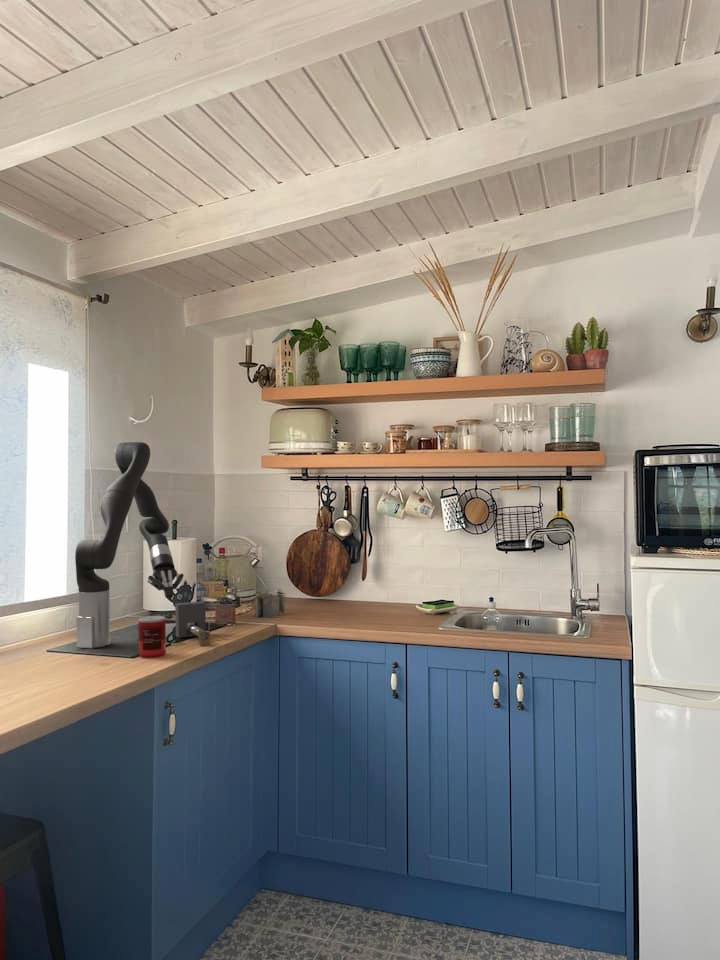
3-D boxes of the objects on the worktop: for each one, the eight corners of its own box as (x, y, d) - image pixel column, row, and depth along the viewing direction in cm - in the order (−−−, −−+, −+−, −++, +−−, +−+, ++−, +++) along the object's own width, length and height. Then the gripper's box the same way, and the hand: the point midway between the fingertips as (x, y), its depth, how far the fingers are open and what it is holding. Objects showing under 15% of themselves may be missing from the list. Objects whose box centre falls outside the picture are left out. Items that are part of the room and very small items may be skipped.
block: (175, 635, 245) (175, 603, 245) (202, 632, 249) (202, 601, 249) (178, 637, 241) (178, 605, 242) (205, 634, 246) (205, 602, 246)
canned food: (155, 651, 223) (154, 614, 223) (171, 654, 218) (170, 617, 218) (133, 656, 217) (132, 618, 217) (149, 659, 212) (148, 621, 212)
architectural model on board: (258, 618, 280) (257, 593, 280) (255, 617, 283) (254, 592, 283) (285, 615, 286) (285, 590, 286) (282, 614, 288) (281, 589, 289)
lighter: (237, 624, 267) (237, 596, 267) (233, 625, 264) (233, 597, 264) (217, 623, 269) (217, 595, 269) (213, 625, 266) (212, 597, 266)
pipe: (159, 636, 246) (159, 623, 246) (212, 630, 254) (212, 618, 254) (176, 649, 226) (176, 635, 226) (233, 642, 234) (233, 629, 234)
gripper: (144, 553, 262) (152, 592, 251) (181, 551, 268) (191, 589, 257) (141, 567, 266) (149, 606, 255) (178, 565, 273) (187, 602, 262)
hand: (170, 597), depth 256 cm, fingers closed
